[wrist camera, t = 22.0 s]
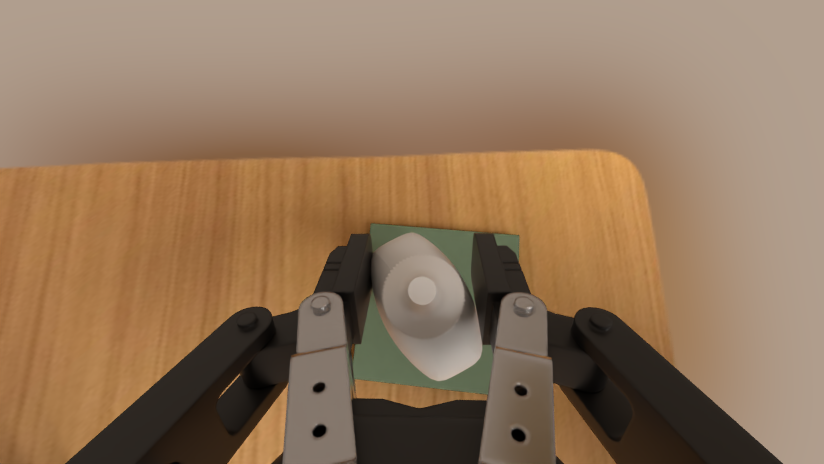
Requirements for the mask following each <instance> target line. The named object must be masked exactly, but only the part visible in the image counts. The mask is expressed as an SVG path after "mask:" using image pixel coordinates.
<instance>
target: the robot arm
mask: <svg viewBox="0 0 824 464" xmlns="http://www.w3.org/2000/svg"><path fill="white" fill-rule="evenodd" d="M372 255H373V249H372V239H371V234H351V236H350V239H349V242H348V244H347V246H338V247H337V248H336V249H335V250H333V251H332V252H331V253H330V254H329V257H328V259H327V262H326V264H325V267H324V269H323V271H322V274H321V276H320V279H319V281H318V284H317V286H316V288H315V291H314V293H313V294H312V295H310V296H308V297H307V298H306V299H304V300H303V301H302V303H301V304H300V306H299V309H298V310H295V311H293V312H290V313H286V314H281V315H277V316H273V317H272V315H271V312H270V311H269V310H268V309H266V308H264V307H250V308H246V309H243V310H240V311H238V312H237V313H235V314H233V315H232V316H231V317H230V318H229V319H227V320H226V321H225V322H224V323H223V324H222V325H221V326H220V327H218V328H217V329H216V330H215V331H214V332H213V333H212V334H211V335H209V336H208V337H207V338H206V339H205V340H204V341H203V342H202V343H200V344H199V345H198V346H197V347H196V348H195V349H194V350H193V351H191V352H190V353H189V354H188V355H187V356H186V357H185V358H184V359H182V360H181V361H180V362H179V363H178V364H177V365H176V366H175V367H173V368H172V369H171V370H170V371H169V372H168V373H167V374H166V375H164V376H163V377H162V378H161V379H160V380H159V381H158V382H157V383H155V384H154V385H153V386H152V387H151V388H150V389H149V390H148V391H146V392H145V393H144V394H143V395H142V396H141V397H140V398H139V399H137V400H136V401H135V402H134V403H133V404H132V405H131V406H130V407H128V408H127V409H126V410H125V411H124V412H123V413H122V414H121V415H119V416H118V417H117V418H116V419H115V420H114V421H113V422H112V423H110V424H109V425H108V426H107V427H106V428H105V429H104V430H103V431H101V432H100V433H99V434H98V435H97V436H96V437H95V438H94V439H92V440H91V441H90V442H89V443H88V444H87V445H86V446H85V447H83V448H82V449H81V450H80V451H79V452H78V453H77V454H76V455H74V456H73V457H72V458H71V459H70V460H69V461H68V462H67V463H65V464H227V463H228V462H229V461H230V459H231V458H232V457H233V455H234V454H235V453H236V451H237V450H238V449H239V447H240V446H241V445H242V443H243V442H244V441H245V440H246V438H247V437H248V436H249V434H250V433H251V432H252V430H253V429H254V428H255V426H256V425H257V424H258V422H259V421H260V420H261V419H262V417H263V416H264V415H265V413H266V412H267V411H268V409H269V408H270V407H271V405H272V404H273V403H274V402H275V400H276V399H277V398H278V396H279V395H280V394H281V392H282V391H283V390H284V388H285V387H286V386H287V384H288V382H289V384H288V397H287V410H286V424H285V437H284V450H283V453H282V454H281V455H280V456H279V457H278V458H277V459H276V460H275V461H274V462H273V463H272V464H564V463H563V462H562V461H561V460H560V459H559V458H558V457H557V456H556V455H555V425H554V395H553V383H555V384H558V385H559V386H560V388H561V389H562V391H563V392H564V394H565V395H566V396H567V398H568V399H569V400H570V402H571V403H572V404H573V406H574V407H575V408H576V410H577V411H578V412H579V414H580V415H581V416H582V418H583V419H584V420H585V422H586V423H587V424H588V426H589V427H590V428H591V430H592V431H593V433H594V434H595V435H596V437H597V438H598V439H599V441H600V442H601V443H602V445H603V446H604V447H605V449H606V450H607V451H608V453H609V454H610V455H611V457H612V458H613V459H614V461H615V462H616V463H617V464H783V463H782V462H780V461H779V460H778V459H777V458H776V457H775V456H774V455H773V454H772V453H770V452H769V451H768V450H767V449H766V448H765V447H764V446H763V445H761V444H760V443H759V442H758V441H757V440H755V438H754V437H752V436H751V435H750V434H749V433H748V432H747V431H746V430H745V429H743V428H742V427H741V426H740V425H739V424H738V423H737V422H736V421H734V420H733V419H732V418H731V417H730V416H729V415H728V414H726V413H725V412H724V411H723V410H722V409H721V408H720V407H718V405H716V404H715V403H714V402H713V401H712V400H711V399H710V398H709V397H707V396H706V395H705V394H704V393H703V392H702V391H701V390H700V389H698V388H697V387H696V386H695V385H694V384H693V383H692V382H690V381H689V380H688V379H687V378H686V377H685V376H684V375H683V374H682V373H680V372H679V371H678V370H677V369H676V368H675V367H674V366H673V365H671V364H670V363H669V362H668V361H667V360H666V359H665V358H664V357H662V356H661V355H660V354H659V353H658V352H657V351H656V350H655V349H653V348H652V347H651V346H650V345H649V344H648V343H647V342H646V341H644V340H643V339H642V338H641V337H640V336H639V335H638V334H637V333H635V332H634V331H633V330H632V329H631V328H630V327H629V326H628V325H626V324H625V323H624V322H623V321H622V320H621V319H620V318H618V317H617V316H616V315H614V314H613V313H611V312H609V311H606V310H603V309H600V308H593V307H588V308H583V309H580V310H579V311H578V312H577V313H576V314H575V317H574V318H572V317H568V316H563V315H559V314H555V313H552V312H549V311H547V308H546V305H545V304H544V303H543V302H542V300H540V299H539V298H538V297H536V296H534V295H532V294H531V293H530V290H529V288H528V285H527V282H526V280H525V277H524V274H523V272H522V271H521V266H520V264H519V261H518V259H517V256H516V253H515V252H514V251H513V250H511V249H510V248H509V247H508V246H507V245H504V246H497V243H496V240H495V237H494V234H493V233H474V235H473V245H472V259H471V281H472V287H473V293H474V299H475V304H476V310H477V316H478V322H479V328H480V334H481V340H482V345H491V348H492V353H493V361H492V368H491V375H490V382H489V389H488V397H487V401H486V400H455V401H450V402H446V403H442V404H438V405H433V406H429V407H425V408H415V407H411V406H407V405H403V404H400V403H396V402H392V401H389V400H385V399H360V398H357V397H356V388H355V379H354V370H353V361H352V355H351V348H352V344H361V342H362V337H363V332H364V327H365V322H366V317H367V312H368V307H369V302H370V297H371V292H372V281H371V259H372ZM239 373H240V376H239V377H238V378H237V379H236V380H235V381H234V383H233V384H232V385H231V386H230V387H229V388H228V389H227V390H226V391H225V392H224V393H223V395H222V396H221V397H220V395H221V393H222V392H223V391H224V390H225V389H226V388H227V387H228V385H229V384H230V383H231V382H232V381H233V380H234V379H235V378H236V377H237V376H238V375H239ZM219 397H220V398H219Z"/></svg>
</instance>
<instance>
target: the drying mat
mask: <svg viewBox="0 0 824 464" xmlns="http://www.w3.org/2000/svg"><path fill="white" fill-rule="evenodd" d="M412 232H413V233H416V234H419V235H421V236H423V237H424V238H426V239H427V240H428V241H430V242H431V243H432V244H434V245H435V246H436V247H437V248H438V249H439V250H440V251H441V252H442V253H443V254H444V255H445V256H446V257H447V258H448V259H449V260H450V261H451V263H452V264H453V265H454V266H455V268H456V269H457V270H458V272H459V273H460V275H461V277H462V278H463V280H464V282H465V283H466V285H467V287H468V289H469V292H470V294H471V296H472V299H473V301H474V304H475V299H474V293H473V287H472V281H471V259H472V245H473V235H474V233H485V232H472V231H460V230H448V229H435V228H423V227H411V226H398V225H386V224H373V223H371V226H370V234H371V239H372V249H373V253H374V252H375V251H376V250H377V249H378V248H379V247H380V246H382V245H384V244H385V243H387V242H389V241H391V240H393V239H395V238H397V237H399V236H401V235H403V234H406V233H412ZM493 234H494V237H495V240H496V243H497V246H504V245H507V246H508V247H509V248H510V249H511V250H513V251H514V252H515V253H516V256H517V259H518V261H519V235H509V234H497V233H493ZM475 307H476V304H475ZM476 311H477V310H476ZM492 361H493V353H492V348H491V345H482V353H481V357H480V359H479V360H478V361H477V362H476V363H475V364H474V365H472V366H471V367H469V368H468V369H466V370H464V371H462V372H460V373H459V374H457V375H455V376H453V377H451V378H449V379H447V380H443V381H436V380H433V379H430V378H429V377H427V376H426V375H425V374H423V373H422V372H421V371H420V370H418V369H417V368H416V367H415V366H414V365H413V364H412V363H411V362H410V361H409V360H408V359H407V358H406V357H405V356H404V354H403V353H402V352H401V351H400V349H399V348H398V347H397V345H396V344H395V342H394V341H393V340H392V338H391V336H390V335H389V333H388V331H387V329H386V327H385V325H384V323H383V321H382V319H381V317H380V314H379V311H378V308H377V305H376V302H375V298H374V294H373V288H372V292H371V297H370V302H369V307H368V312H367V317H366V322H365V327H364V332H363V337H362V342H361V344H355V350H354V357H353V370H354V379H359V380H368V381H376V382H385V383H393V384H402V385H410V386H419V387H427V388H436V389H444V390H453V391H461V392H470V393H479V394H487V395H488V389H489V382H490V375H491V368H492Z"/></svg>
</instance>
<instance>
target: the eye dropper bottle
mask: <svg viewBox="0 0 824 464" xmlns="http://www.w3.org/2000/svg"><path fill="white" fill-rule="evenodd" d="M371 281H372V288H373V294H374V298H375V302H376V305H377V308H378V311H379V314H380V317H381V319H382V321H383V323H384V325H385V327H386V329H387V331H388V333H389V335H390V336H391V338H392V340H393V341H394V342H395V344H396V345H397V347H398V348H399V349H400V351H401V352H402V353H403V354H404V356H405V357H406V358H407V359H408V360H409V361H410V362H411V363H412V364H413V365H414V366H415V367H416V368H417V369H418V370H420V371H421V372H422V373H423V374H425V375H426V376H427V377H429V378H430V379H433V380H436V381H443V380H447V379H449V378H451V377H453V376H455V375H457V374H459V373H460V372H462V371H464V370H466V369H468V368H469V367H471V366H472V365H474V364H475V363H476V362H477V361H478V360H479V359H480V357H481V353H482V340H481V334H480V328H479V322H478V316H477V311H476V307H475V304H474V301H473V299H472V296H471V294H470V292H469V289H468V287H467V285H466V283H465V282H464V280H463V278H462V277H461V275H460V273H459V272H458V270H457V269H456V268H455V266H454V265H453V264H452V263H451V261H450V260H449V259H448V258H447V257H446V256H445V255H444V254H443V253H442V252H441V251H440V250H439V249H438V248H437V247H436V246H435V245H434V244H432V243H431V242H430V241H428V240H427V239H426V238H424V237H423V236H421V235H419V234H416V233H413V232H412V233H406V234H403V235H401V236H399V237H397V238H395V239H393V240H391V241H389V242H387V243H385V244H384V245H382V246H380V247H379V248H378V249H377V250H376V251H375V252H374V253H373V255H372V259H371Z"/></svg>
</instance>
